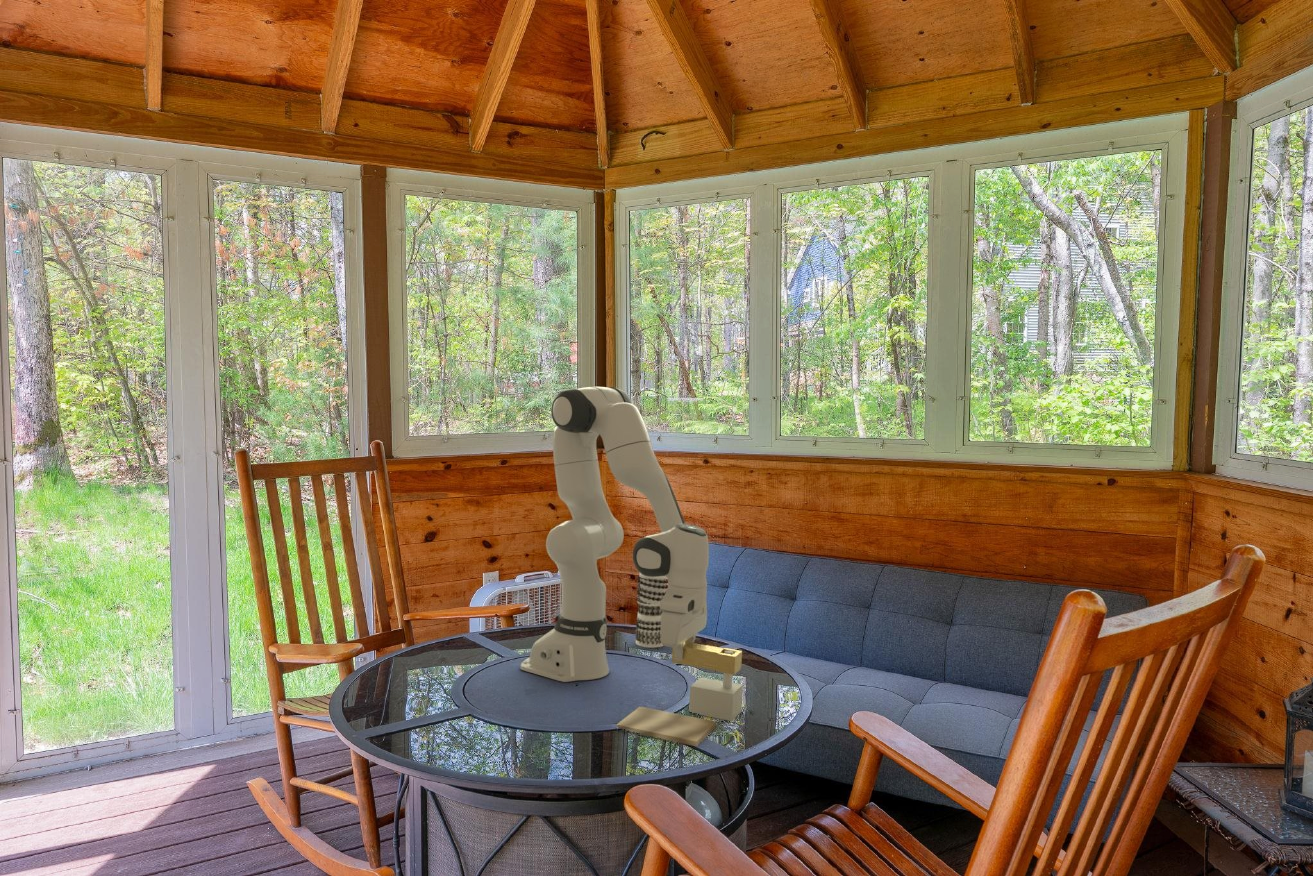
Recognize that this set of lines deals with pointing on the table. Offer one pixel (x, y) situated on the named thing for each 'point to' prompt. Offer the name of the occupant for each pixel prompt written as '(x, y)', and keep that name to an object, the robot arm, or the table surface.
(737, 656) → the brass hook bar
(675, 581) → the robot arm
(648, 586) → the decorative candle
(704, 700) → the peg block
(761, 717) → the table surface
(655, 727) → the birch pad
